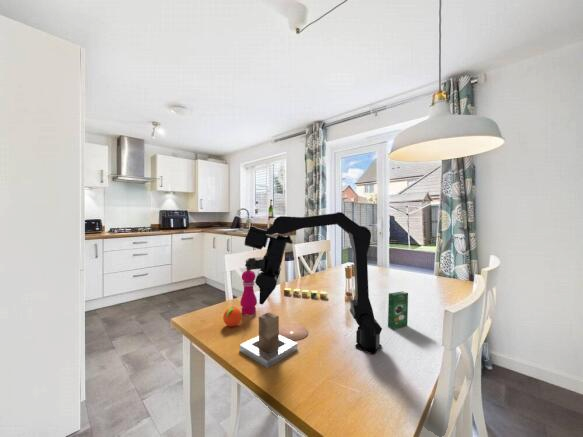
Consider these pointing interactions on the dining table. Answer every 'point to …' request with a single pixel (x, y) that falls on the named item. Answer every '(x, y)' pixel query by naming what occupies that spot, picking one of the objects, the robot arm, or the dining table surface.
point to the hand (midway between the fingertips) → (263, 299)
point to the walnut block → (268, 332)
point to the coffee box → (398, 310)
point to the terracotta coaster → (293, 332)
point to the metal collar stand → (271, 358)
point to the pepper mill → (248, 294)
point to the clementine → (232, 316)
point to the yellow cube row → (305, 293)
